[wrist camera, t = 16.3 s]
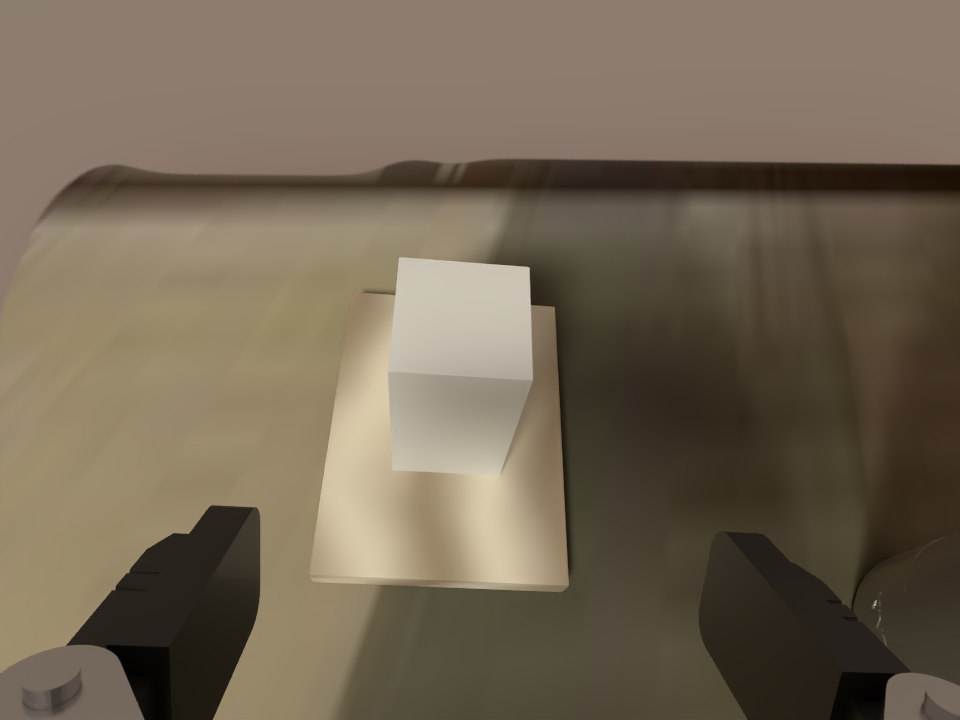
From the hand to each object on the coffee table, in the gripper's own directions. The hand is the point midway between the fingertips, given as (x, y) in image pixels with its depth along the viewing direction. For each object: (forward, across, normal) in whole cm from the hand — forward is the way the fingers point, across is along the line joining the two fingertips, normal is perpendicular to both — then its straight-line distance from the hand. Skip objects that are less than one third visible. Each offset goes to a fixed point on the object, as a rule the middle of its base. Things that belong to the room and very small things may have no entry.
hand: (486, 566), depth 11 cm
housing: (+22, 0, +5) cm, 23 cm away
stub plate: (+23, 0, +6) cm, 24 cm away
